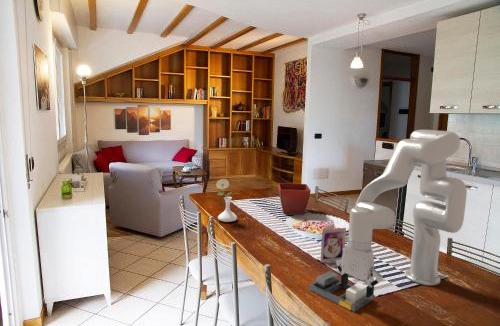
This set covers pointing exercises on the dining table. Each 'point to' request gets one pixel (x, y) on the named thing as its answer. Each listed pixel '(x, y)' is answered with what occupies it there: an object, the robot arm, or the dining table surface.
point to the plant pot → (294, 197)
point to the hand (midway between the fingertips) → (356, 290)
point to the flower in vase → (227, 214)
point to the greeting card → (332, 243)
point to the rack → (330, 284)
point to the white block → (356, 293)
